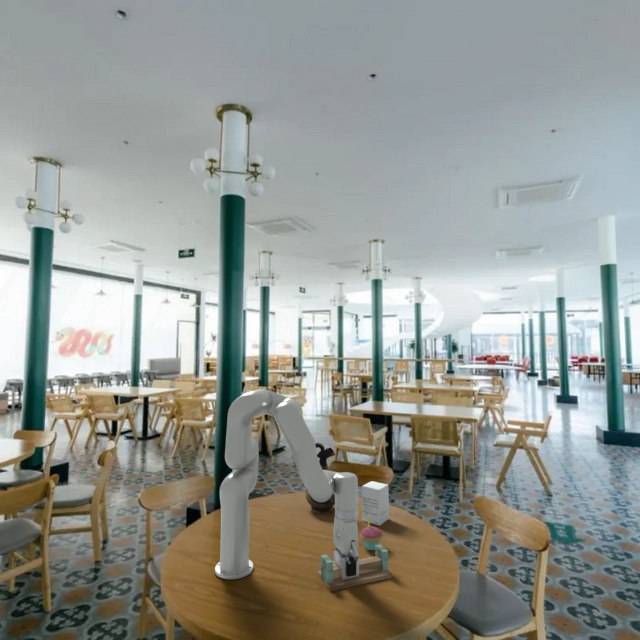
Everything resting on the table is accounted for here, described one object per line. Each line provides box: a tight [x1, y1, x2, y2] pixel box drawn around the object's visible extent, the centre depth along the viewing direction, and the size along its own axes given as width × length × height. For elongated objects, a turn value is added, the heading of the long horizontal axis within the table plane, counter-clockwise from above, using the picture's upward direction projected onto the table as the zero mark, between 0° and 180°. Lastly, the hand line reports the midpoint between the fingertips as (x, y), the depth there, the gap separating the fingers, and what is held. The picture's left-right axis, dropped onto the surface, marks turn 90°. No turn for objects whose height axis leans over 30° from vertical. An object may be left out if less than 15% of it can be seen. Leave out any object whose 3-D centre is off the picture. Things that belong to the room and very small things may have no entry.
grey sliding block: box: [332, 548, 360, 580], centre depth 133 cm, size 7×6×7 cm
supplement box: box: [361, 480, 390, 527], centre depth 181 cm, size 9×9×15 cm
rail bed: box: [317, 543, 393, 592], centre depth 135 cm, size 10×22×7 cm, turn 112°
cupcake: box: [359, 513, 384, 551], centre depth 155 cm, size 9×8×12 cm
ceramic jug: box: [302, 442, 336, 515], centre depth 193 cm, size 17×15×30 cm
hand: (346, 569), depth 133 cm, fingers closed on grey sliding block, 6 cm apart
